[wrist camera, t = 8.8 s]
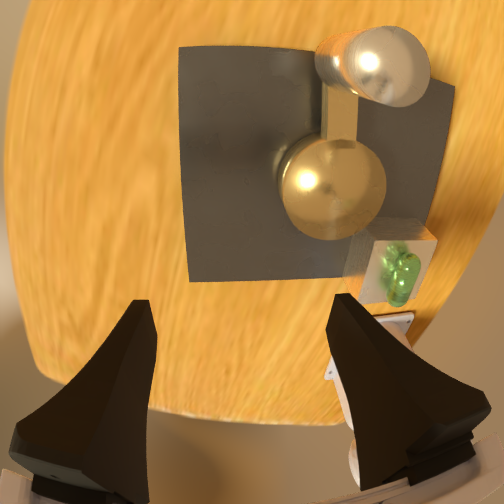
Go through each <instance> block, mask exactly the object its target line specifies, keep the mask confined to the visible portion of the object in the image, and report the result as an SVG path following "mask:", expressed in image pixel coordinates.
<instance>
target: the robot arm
mask: <svg viewBox="0 0 504 504" xmlns="http://www.w3.org/2000/svg"><path fill="white" fill-rule="evenodd" d="M413 319H414V314H413V313H412V312H408V313H401V314H393V315H385V316H376V317H373V316H372V315H371V314H370V313H369V312H368V311H367V310H366V309H365V308H364V307H363V306H362V305H361V304H360V303H359V302H358V301H357V300H356V299H355V298H354V297H353V296H352V295H351V294H350V293H343V294H335V298H334V301H333V305H332V309H331V312H330V316H329V319H328V323H327V326H326V334H327V339H328V343H329V347H330V352H331V355H332V356H331V359H330V361H329V364H328V367H327V369H326V372H325V375H324V378H325V379H326V380H330V379H333V380H334V384H335V387H336V390H337V394H338V397H339V400H340V403H341V407H342V410H343V414H344V417H345V420H346V422H347V424H348V425H349V427H350V428H351V429H352V430H353V431H354V434H355V439H354V440H353V441H352V443H351V447H350V450H349V464H350V468H351V472H352V474H353V477H354V479H355V481H356V483H357V484H358V486H359V487H360V490H361V492H358V493H354V494H350V495H346V496H342V497H338V498H333V499H329V500H324V501H318V502H313V503H307V504H477V503H479V502H480V501H481V500H483V499H484V498H486V497H487V496H488V495H490V494H491V493H493V492H494V491H496V490H497V489H498V488H500V487H501V486H502V485H504V449H503V447H502V444H501V442H500V440H499V438H498V435H497V433H493V434H491V435H489V436H488V437H486V438H484V439H482V440H480V441H479V442H477V443H475V444H474V445H473V444H472V442H473V441H472V439H473V438H474V436H473V433H472V430H473V429H474V428H475V427H476V426H477V425H478V424H480V423H481V422H482V421H483V420H484V419H485V418H486V417H487V416H488V415H489V413H490V412H491V406H490V404H489V402H488V400H487V398H486V396H485V394H484V392H483V391H481V390H478V389H476V388H474V387H471V386H469V385H466V384H464V383H462V382H460V381H458V380H456V379H454V378H452V377H450V376H448V375H447V374H445V373H443V372H441V371H440V370H438V369H436V368H435V367H433V366H432V365H430V364H428V363H427V362H426V361H424V360H423V359H421V358H420V357H419V356H417V355H416V354H415V353H414V351H413V349H412V348H411V346H410V344H409V342H408V340H407V338H406V336H405V334H406V332H407V331H408V329H409V327H410V325H411V323H412V321H413ZM156 351H157V332H156V328H155V324H154V320H153V316H152V312H151V308H150V303H149V300H133V301H132V302H131V304H130V305H129V307H128V308H127V310H126V311H125V313H124V314H123V316H122V317H121V319H120V320H119V321H118V323H117V324H116V326H115V327H114V329H113V330H112V331H111V333H110V334H109V336H108V337H107V338H106V340H105V341H104V343H103V344H102V345H101V346H100V348H99V349H98V350H97V351H96V353H95V354H94V355H93V357H92V358H91V359H90V360H89V361H88V363H87V364H86V365H85V366H84V367H83V368H82V369H81V370H80V372H79V373H78V374H77V375H76V376H75V377H74V378H73V379H72V380H71V381H70V382H69V383H68V384H67V385H66V386H65V387H64V388H63V389H62V390H60V391H59V392H58V393H57V394H56V395H55V396H53V397H52V398H51V399H50V400H49V401H48V402H46V403H45V404H44V405H43V406H41V407H40V408H39V409H37V410H36V411H34V412H33V413H32V414H30V415H28V416H27V417H26V418H24V419H22V420H21V421H19V422H18V423H17V424H16V427H15V429H14V433H13V437H12V440H11V445H10V449H9V455H10V457H11V458H12V459H13V460H14V461H15V462H17V463H18V464H20V465H21V466H23V467H24V468H26V469H27V470H29V471H30V472H32V473H33V474H34V477H33V480H32V479H30V478H27V477H25V476H23V475H20V474H17V473H15V472H12V471H9V470H7V469H5V468H4V469H3V470H2V475H1V480H0V504H148V503H149V502H150V501H149V492H148V480H147V462H146V423H147V410H148V402H149V396H150V390H151V384H152V379H153V373H154V367H155V362H156Z"/></svg>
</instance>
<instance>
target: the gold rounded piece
mask: <svg viewBox="0 0 504 504" xmlns="http://www.w3.org/2000/svg"><path fill="white" fill-rule="evenodd" d="M314 65H315V69H316V72H317V74H318V76H319V77H320V79H321V80H322V124H321V132H317V133H314V134H311V135H309V136H307V137H304V138H303V139H301V140H300V141H298V142H297V143H296V144H295V145H294V146H293V147H292V148H291V149H290V150H289V151H288V152H287V154H286V155H285V157H284V159H283V161H282V163H281V165H280V168H279V173H278V191H279V195H280V197H281V200H282V202H283V205H284V207H285V209H286V212H287V214H288V216H289V218H290V220H291V221H292V222H293V224H294V225H295V226H296V227H297V228H298V229H299V230H300V231H302V232H303V233H304V234H306V235H308V236H310V237H313V238H316V239H320V240H338V239H343V238H346V237H349V236H351V235H354V234H355V233H357V232H359V231H360V230H362V229H363V228H365V227H366V226H367V225H368V224H369V223H370V222H371V221H372V220H373V219H374V218H375V216H376V215H377V213H378V212H379V210H380V208H381V206H382V204H383V201H384V198H385V194H386V175H385V171H384V168H383V165H382V163H381V161H380V160H379V158H378V157H377V156H376V155H375V153H374V152H373V151H371V150H370V149H369V148H368V147H366V146H365V145H363V144H362V143H360V142H358V141H357V140H356V135H357V117H358V96H359V97H363V98H366V99H369V100H373V101H376V102H379V103H382V104H385V105H388V106H392V107H405V106H409V105H411V104H413V103H415V102H416V101H418V100H419V99H420V98H421V97H422V96H423V94H424V93H425V91H426V89H427V87H428V84H429V80H430V63H429V58H428V56H427V53H426V51H425V49H424V47H423V46H422V44H421V43H420V42H419V40H418V39H417V38H416V37H415V36H414V35H412V34H411V33H410V32H408V31H406V30H404V29H402V28H399V27H395V26H382V27H375V28H369V29H363V30H358V31H352V32H347V33H343V34H338V35H333V36H330V37H328V38H326V39H325V40H323V41H322V42H321V43H320V45H319V46H318V48H317V49H316V52H315V56H314Z"/></svg>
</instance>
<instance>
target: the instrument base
mask: <svg viewBox="0 0 504 504" xmlns="http://www.w3.org/2000/svg"><path fill="white" fill-rule="evenodd" d="M314 56H315V52H312V51H304V50H295V49H284V48H272V47H254V46H193V47H179V64H178V95H179V140H180V165H181V184H182V200H183V215H184V228H185V240H186V251H187V262H188V272H189V282H225V281H261V280H290V279H315V278H336V277H342V278H343V280H344V282H345V284H346V286H347V288H348V290H349V292H350V294H351V295H352V296H353V297H354V298H355V299H356V300H357V301H358V302H359V303H360V304H369V303H380V302H388V303H389V304H390V305H391V306H393V307H401V306H403V305H405V304H406V303H407V301H408V299H415V298H416V295H417V293H418V291H419V288H420V286H421V284H422V281H423V279H424V276H425V274H426V271H427V269H428V266H429V264H430V261H431V259H432V256H433V253H434V251H435V248H436V245H437V242H438V240H437V239H436V238H435V237H434V236H433V234H432V233H431V232H430V231H429V230H428V229H427V228H426V227H425V222H426V219H427V216H428V212H429V209H430V206H431V202H432V198H433V195H434V191H435V187H436V183H437V179H438V175H439V171H440V167H441V163H442V158H443V154H444V149H445V144H446V139H447V134H448V129H449V123H450V117H451V111H452V104H453V97H454V89H455V86H452V85H450V84H447V83H444V82H441V81H438V80H435V79H432V78H430V80H429V84H428V87H427V89H426V91H425V93H424V94H423V96H422V97H421V98H420V99H419V100H418V101H416V102H415V103H413V104H411V105H409V106H405V107H392V106H388V105H385V104H382V103H379V102H376V101H373V100H369V99H366V98H363V97H359V96H358V117H357V135H356V140H357V141H358V142H360V143H362V144H363V145H365V146H366V147H368V148H369V149H370V150H371V151H373V152H374V153H375V155H376V156H377V157H378V158H379V160H380V161H381V163H382V165H383V168H384V171H385V175H386V194H385V198H384V201H383V204H382V206H381V208H380V210H379V212H378V213H377V215H376V216H375V218H374V219H373V220H372V221H371V222H370V223H369V224H368V225H367V226H366V227H365V228H363V229H362V230H360V231H359V232H357V233H355V234H354V235H351V236H349V237H346V238H343V239H338V240H320V239H316V238H313V237H310V236H308V235H306V234H304V233H303V232H302V231H300V230H299V229H298V228H297V227H296V226H295V225H294V224H293V222H292V221H291V220H290V218H289V216H288V214H287V212H286V209H285V207H284V205H283V202H282V200H281V197H280V195H279V191H278V173H279V168H280V165H281V163H282V161H283V159H284V157H285V155H286V154H287V152H288V151H289V150H290V149H291V148H292V147H293V146H294V145H295V144H296V143H297V142H298V141H300V140H301V139H303V138H304V137H307V136H309V135H311V134H314V133H317V132H321V124H322V80H321V79H320V77H319V76H318V74H317V72H316V69H315V65H314Z"/></svg>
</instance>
